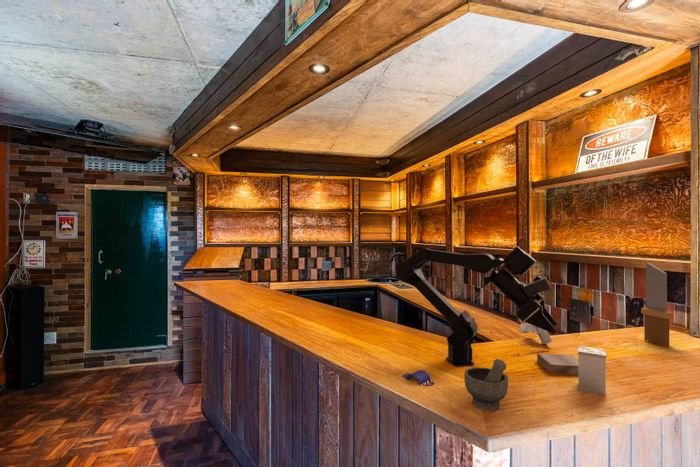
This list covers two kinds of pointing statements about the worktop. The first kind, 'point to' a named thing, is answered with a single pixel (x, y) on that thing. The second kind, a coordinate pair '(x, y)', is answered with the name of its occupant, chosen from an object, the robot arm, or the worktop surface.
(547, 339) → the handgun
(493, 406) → the mortar and pestle
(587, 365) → the tin
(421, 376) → the blue animal figurine
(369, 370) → the worktop surface
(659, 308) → the knife
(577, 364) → the block
